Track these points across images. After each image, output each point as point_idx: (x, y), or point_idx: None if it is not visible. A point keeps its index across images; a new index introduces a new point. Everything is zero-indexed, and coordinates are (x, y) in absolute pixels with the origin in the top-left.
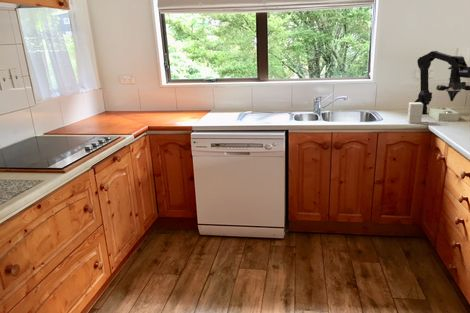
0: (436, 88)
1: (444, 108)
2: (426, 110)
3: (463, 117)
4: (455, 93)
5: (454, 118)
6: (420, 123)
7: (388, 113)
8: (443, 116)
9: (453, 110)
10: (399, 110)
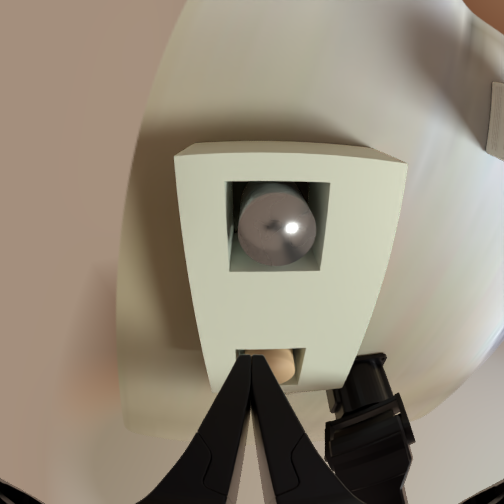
0: (484, 500)
1: None
2: None
3: (128, 284)
4: (195, 499)
5: (229, 144)
6: (494, 83)
7: (475, 343)
8: (347, 150)
9: (196, 314)
10: None
